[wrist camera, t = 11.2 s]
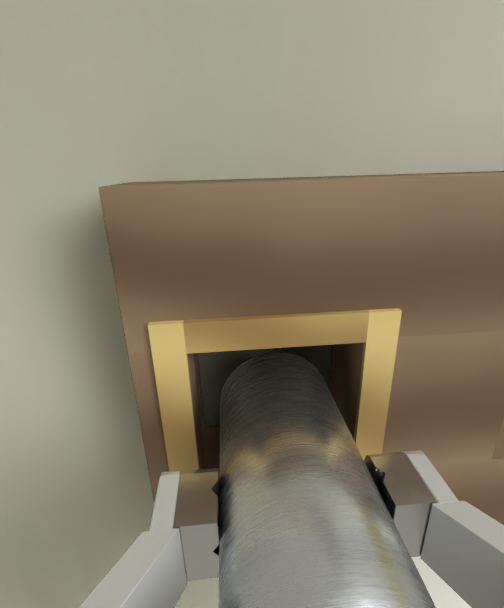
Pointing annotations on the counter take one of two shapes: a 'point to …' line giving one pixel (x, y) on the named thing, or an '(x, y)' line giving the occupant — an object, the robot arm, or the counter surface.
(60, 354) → the counter surface
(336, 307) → the socket board
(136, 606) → the robot arm
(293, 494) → the pin
